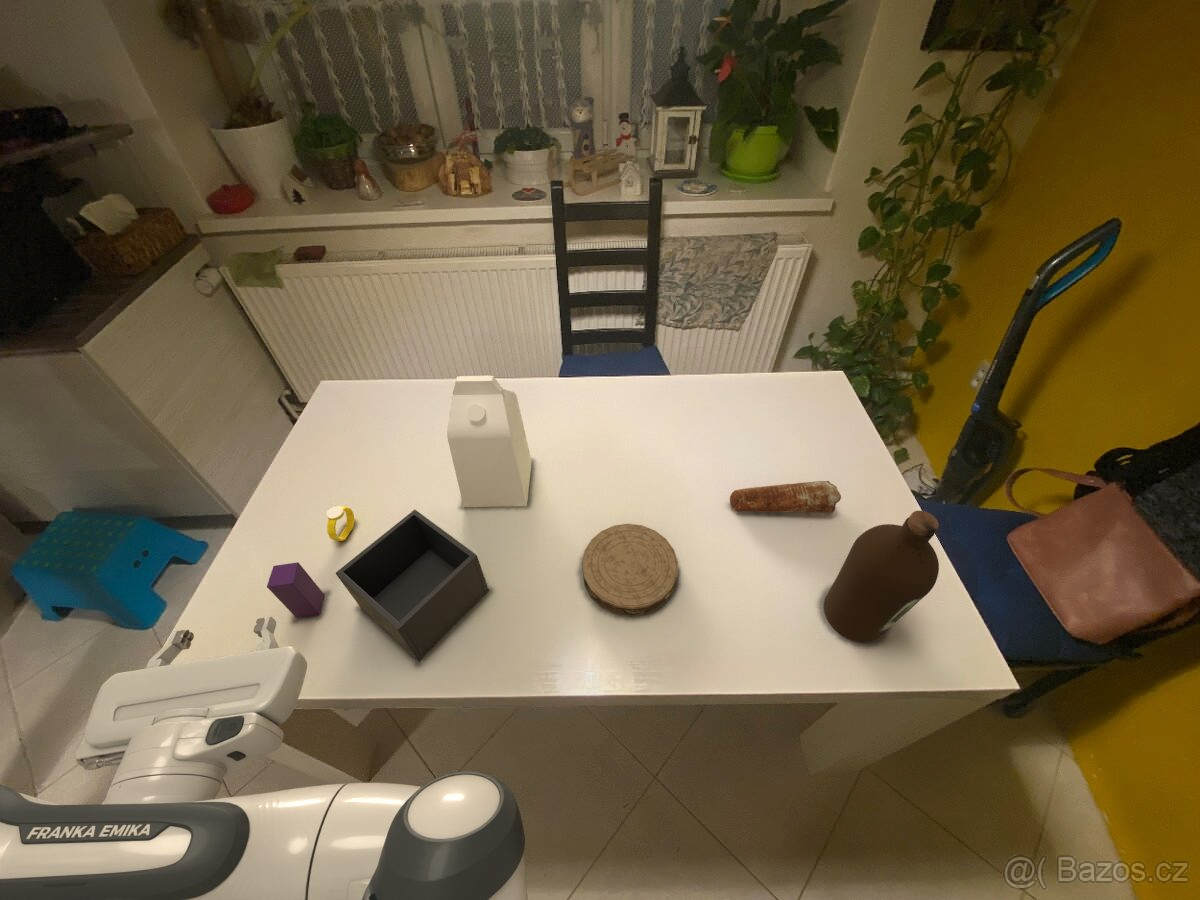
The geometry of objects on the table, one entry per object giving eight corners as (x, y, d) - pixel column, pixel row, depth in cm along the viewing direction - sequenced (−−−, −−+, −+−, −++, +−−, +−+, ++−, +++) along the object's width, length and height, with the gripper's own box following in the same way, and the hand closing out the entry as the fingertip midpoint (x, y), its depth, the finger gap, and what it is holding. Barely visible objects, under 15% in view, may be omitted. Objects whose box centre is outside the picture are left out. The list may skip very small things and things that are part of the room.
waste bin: (418, 661, 76) (397, 630, 68) (360, 607, 82) (334, 572, 74) (489, 590, 84) (477, 555, 76) (431, 546, 90) (414, 509, 83)
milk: (531, 461, 104) (515, 356, 86) (526, 505, 96) (507, 400, 78) (473, 462, 104) (444, 358, 86) (463, 507, 96) (429, 402, 78)
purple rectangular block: (320, 614, 81) (292, 583, 74) (296, 618, 81) (266, 586, 74) (324, 594, 84) (298, 562, 77) (301, 598, 83) (273, 565, 76)
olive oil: (806, 615, 80) (864, 521, 63) (837, 572, 86) (899, 474, 68) (872, 662, 75) (955, 574, 57) (901, 613, 81) (985, 519, 63)
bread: (834, 519, 93) (844, 500, 89) (730, 517, 94) (736, 499, 90) (824, 492, 98) (834, 473, 94) (725, 491, 98) (730, 472, 94)
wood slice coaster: (563, 582, 85) (562, 572, 83) (617, 519, 94) (617, 509, 92) (643, 635, 78) (644, 627, 76) (693, 562, 87) (695, 553, 85)
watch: (346, 547, 90) (333, 527, 86) (331, 545, 91) (317, 526, 86) (361, 520, 94) (349, 500, 90) (347, 518, 95) (335, 498, 90)
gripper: (90, 781, 53) (150, 651, 62) (296, 744, 55) (323, 624, 64) (42, 766, 48) (114, 628, 58) (268, 726, 50) (302, 600, 60)
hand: (226, 625), depth 61 cm, fingers open, 8 cm apart
